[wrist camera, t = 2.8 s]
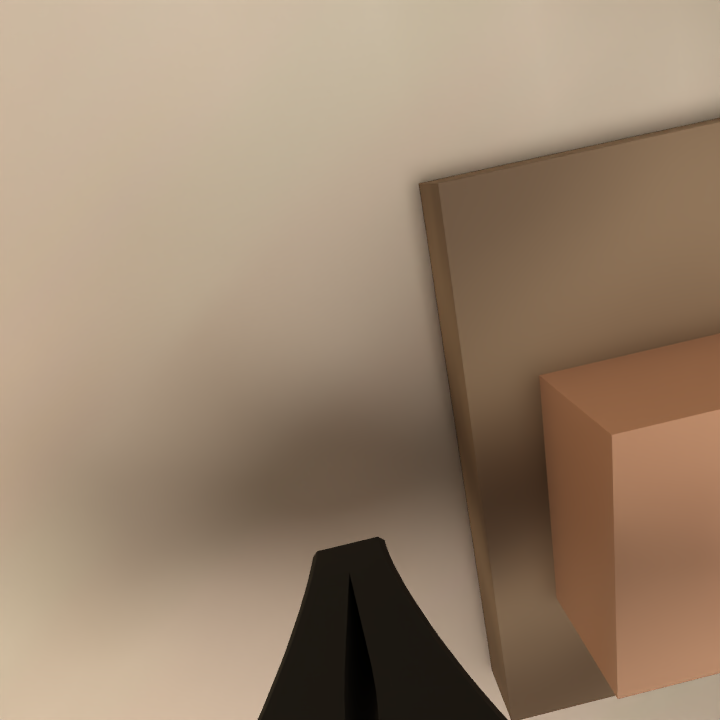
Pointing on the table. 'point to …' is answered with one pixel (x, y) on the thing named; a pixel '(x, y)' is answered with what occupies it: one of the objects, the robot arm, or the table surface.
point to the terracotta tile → (638, 510)
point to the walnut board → (558, 349)
